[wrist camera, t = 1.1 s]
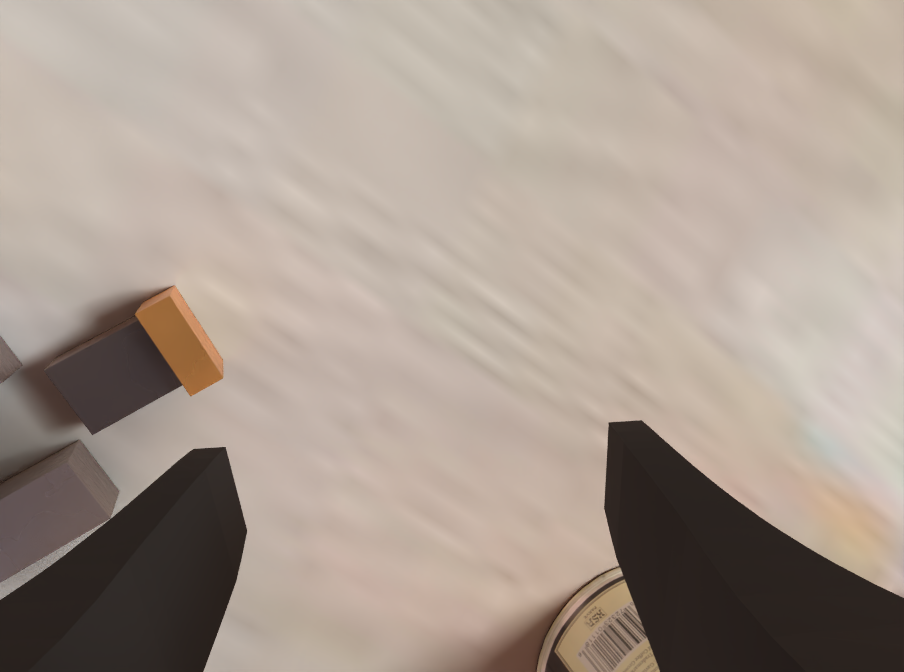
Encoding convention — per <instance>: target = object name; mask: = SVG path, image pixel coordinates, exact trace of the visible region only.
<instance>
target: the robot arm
mask: <svg viewBox="0 0 904 672" xmlns="http://www.w3.org/2000/svg"><path fill="white" fill-rule="evenodd" d="M604 509H605V513H606V517H607V522H608V526H609V530H610V534H611V538H612V542H613V546H614V550H615V554H616V557H617V560H618V563H619V566H620V568H621V571H622V574H623V576H624V579H625V581H626V584H627V587H628V589H629V592H630V595H631V597H632V600H633V602H634V605H635V608H636V610H637V613H638V615H639V618H640V621H641V623H642V626H643V628H644V631H645V633H646V636H647V639H648V641H649V644H650V646H651V649H652V652H653V654H654V657H655V659H656V662H657V665H658V667H659V670H660V672H904V598H902V597H900V596H898V595H896V594H894V593H892V592H890V591H888V590H885V589H883V588H881V587H879V586H877V585H875V584H873V583H871V582H869V581H867V580H866V579H864V578H862V577H860V576H858V575H856V574H854V573H852V572H850V571H848V570H847V569H845V568H843V567H841V566H839V565H837V564H835V563H833V562H832V561H830V560H828V559H826V558H824V557H823V556H821V555H819V554H817V553H816V552H814V551H812V550H811V549H809V548H807V547H806V546H804V545H803V544H801V543H799V542H798V541H796V540H795V539H793V538H791V537H790V536H788V535H786V534H785V533H783V532H782V531H780V530H778V529H777V528H775V527H774V526H772V525H771V524H769V523H768V522H766V521H765V520H763V519H762V518H761V517H759V516H758V515H756V514H755V513H754V512H752V511H751V510H749V509H748V508H747V507H745V506H744V505H743V504H741V503H740V502H738V501H737V500H736V499H734V498H733V497H732V496H730V495H729V494H728V493H726V492H725V491H724V490H723V489H721V488H720V487H719V486H717V485H716V484H715V483H714V482H712V481H711V480H710V479H709V478H707V477H706V476H705V475H704V474H703V473H701V472H700V471H699V470H698V469H697V468H695V467H694V466H693V465H692V464H691V463H690V462H688V461H687V460H686V459H685V458H684V457H683V456H681V455H680V454H679V453H678V452H677V451H676V450H675V449H673V448H672V447H671V446H670V445H669V444H668V443H667V442H665V441H664V440H663V439H662V438H661V437H660V436H659V435H658V434H656V433H655V432H654V431H653V430H652V429H651V428H650V427H649V426H647V425H646V424H645V423H644V422H643V421H642V420H641V421H626V422H610V423H609V430H608V449H607V468H606V487H605V506H604ZM246 534H247V528H246V525H245V521H244V517H243V513H242V509H241V505H240V501H239V497H238V494H237V490H236V486H235V482H234V478H233V474H232V470H231V466H230V463H229V459H228V455H227V451H226V447H219V448H203V449H193V450H192V451H190V452H189V453H188V454H186V455H185V456H184V457H183V458H181V459H180V460H179V461H178V462H177V463H175V464H174V465H173V466H172V467H171V468H170V469H168V470H167V471H166V472H165V473H164V474H163V475H161V476H160V477H159V478H158V479H157V480H156V481H155V482H153V483H152V484H151V485H150V486H149V487H148V488H147V489H145V490H144V491H143V492H142V493H141V494H140V495H138V496H137V497H136V498H135V499H134V500H133V501H131V502H130V503H129V504H128V505H127V506H125V507H124V508H123V509H122V510H121V511H120V512H118V513H117V514H116V515H115V516H114V517H113V518H111V519H110V520H109V521H108V522H106V523H105V524H104V525H103V526H101V527H100V528H99V529H97V530H96V531H95V532H94V533H92V534H91V535H90V536H89V537H87V538H86V539H85V540H84V541H82V542H81V543H80V544H78V545H77V546H76V547H75V548H73V549H72V550H71V551H70V552H68V553H67V554H66V555H64V556H63V557H62V558H60V559H59V560H58V561H56V562H55V563H54V564H52V565H51V566H50V567H48V568H47V569H45V570H44V571H42V572H41V573H40V574H38V575H37V576H35V577H34V578H32V579H31V580H29V581H28V582H26V583H25V584H24V585H22V586H21V587H19V588H18V589H16V590H15V591H13V592H12V593H10V594H9V595H7V596H6V597H4V598H3V599H1V600H0V672H203V671H204V668H205V666H206V663H207V660H208V657H209V655H210V652H211V649H212V647H213V644H214V641H215V638H216V636H217V633H218V630H219V628H220V625H221V622H222V619H223V617H224V614H225V611H226V608H227V605H228V603H229V600H230V597H231V594H232V591H233V589H234V586H235V583H236V580H237V575H238V571H239V567H240V563H241V558H242V553H243V548H244V544H245V539H246Z"/></svg>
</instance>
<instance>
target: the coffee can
mask: <svg viewBox="0 0 904 672" xmlns="http://www.w3.org/2000/svg"><path fill="white" fill-rule="evenodd" d="M537 672H660V670H659V667H658V665H657V662H656V659H655V657H654V654H653V652H652V649H651V646H650V644H649V641H648V639H647V636H646V633H645V631H644V628H643V626H642V623H641V621H640V618H639V615H638V613H637V610H636V608H635V605H634V602H633V600H632V597H631V595H630V592H629V589H628V587H627V584H626V581H625V579H624V576H623V574H622V571H621V568H620V567H619V568H616V569H613V570H611V571H609V572H607V573H605V574H603V575H600V576H599V577H598V578H596V579H595V580H593V581H592V582H591V583H590V584H588V585H587V586H585V587H584V588H583V589H582V590H580V591H579V592H578V593H577V594H576V595H575V596H574V597H573V598H572V599H571V600H570V601H569V602H568V603H567V604H566V606H565V607H564V608H563V609H562V611H561V612H560V614H559V615H558V616H557V618H556V619H555V621H554V623H553V624H552V626H551V628H550V630H549V632H548V633H547V635H546V637H545V640H544V643H543V647H542V650H541V653H540V656H539V660H538V666H537Z"/></svg>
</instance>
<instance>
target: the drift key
mask: <svg viewBox="0 0 904 672" xmlns="http://www.w3.org/2000/svg"><path fill="white" fill-rule="evenodd" d="M135 315H136V316H134V317H132V318H130V319H129V320H127V321H125V322H123V323H121V324H119V325H117V326H115V327H113V328H112V329H110V330H108V331H106V332H104V333H102V334H100V335H98V336H96V337H94V338H93V339H91V340H89V341H87V342H85V343H83V344H81V345H79V346H77V347H75V348H74V349H72V350H70V351H68V352H66V353H64V354H62V355H60V356H58V357H56V358H55V359H54V360H53V361H52V362H51V363H50V364H49V365H48V366H47V367H46V368H45V369H44V372H45V373H46V374H47V376H48V377H49V378H50V380H51V381H52V382H53V384H54V385H55V386H56V388H57V389H58V390H59V391H60V393H61V394H62V395H63V397H64V398H65V399H66V401H67V402H68V403H69V405H70V406H71V407H72V409H73V410H74V411H75V413H76V414H77V415H78V417H79V418H80V419H81V421H82V422H83V423H84V425H85V426H86V427H87V428H88V430H89V431H90V432H91V434H92V435H93V434H95V433H97V432H99V431H101V430H102V429H104V428H106V427H108V426H110V425H111V424H113V423H115V422H117V421H119V420H120V419H122V418H124V417H126V416H128V415H129V414H131V413H133V412H135V411H137V410H138V409H140V408H142V407H144V406H146V405H147V404H149V403H151V402H153V401H155V400H156V399H158V398H160V397H162V396H164V395H165V394H167V393H169V392H171V391H173V390H174V389H176V388H178V387H180V386H182V385H183V386H184V388H185V389H186V390H187V392H188V393H189V395H190V396H192V395H194V394H196V393H198V392H199V391H201V390H203V389H205V388H207V387H208V386H210V385H212V384H214V383H215V382H217V381H219V380H221V379H223V359H222V358H221V356H220V355H219V353H218V352H217V350H216V348H215V347H214V345H213V344H212V342H211V341H210V339H209V338H208V336H207V334H206V333H205V331H204V330H203V328H202V327H201V325H200V324H199V322H198V321H197V319H196V317H195V316H194V314H193V313H192V311H191V310H190V308H189V307H188V305H187V304H186V302H185V300H184V299H183V297H182V296H181V294H180V293H179V291H178V290H177V288H176V286H173V287H171V288H169V289H167V290H165V291H163V292H161V293H159V294H157V295H155V296H154V297H152V298H150V299H148V300H146V301H144V302H143V303H142V305H141V306H140V307H139V309H138V310H137V312H136V313H135Z"/></svg>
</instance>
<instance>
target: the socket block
mask: <svg viewBox="0 0 904 672" xmlns="http://www.w3.org/2000/svg"><path fill="white" fill-rule="evenodd" d="M21 366H22V363H21V362H20V361H19V360H18V358H17V357H16V356H15V354H14V353H13V352H12V350H11V349H10V348H9V347H8V345H7V344H6V343H5V341H4V340H3V339H2V337H1V336H0V383H2V382H4V381H5V380H6V379H7V378H8V377H10V376H11V375H12V374H13V373H14V372H15V371H16V370H18V369H19V368H20V367H21ZM118 494H119V490H118V489H117V487H116V486H115V485H114V484H113V482H112V481H111V480H110V478H109V477H108V476H107V474H106V473H105V472H104V471H103V469H102V468H101V467H100V465H99V464H98V463H97V461H96V460H95V459H94V457H93V456H92V455H91V454H90V452H89V451H88V450H87V448H86V447H85V446H84V444H83V443H82V442H81V441H80V440H78V441H76V442H75V443H73V444H71V445H69V446H67V447H66V448H64V449H62V450H60V451H58V452H57V453H55V454H53V455H51V456H49V457H48V458H46V459H44V460H42V461H40V462H39V463H37V464H35V465H33V466H31V467H30V468H28V469H26V470H24V471H22V472H21V473H19V474H17V475H15V476H13V477H12V478H10V479H8V480H6V481H4V482H3V483H1V484H0V582H2V581H4V580H6V579H7V578H9V577H11V576H12V575H14V574H16V573H18V572H19V571H21V570H23V569H24V568H26V567H28V566H30V565H31V564H33V563H35V562H36V561H38V560H40V559H42V558H43V557H45V556H47V555H48V554H50V553H52V552H54V551H55V550H57V549H59V548H60V547H62V546H64V545H66V544H67V543H69V542H71V541H72V540H74V539H76V538H77V537H79V536H81V535H83V534H84V533H86V532H88V531H89V530H91V529H93V528H95V527H96V526H98V525H100V524H101V523H103V522H105V521H107V520H108V519H110V518H111V515H112V512H113V509H114V506H115V503H116V500H117V497H118Z"/></svg>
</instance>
